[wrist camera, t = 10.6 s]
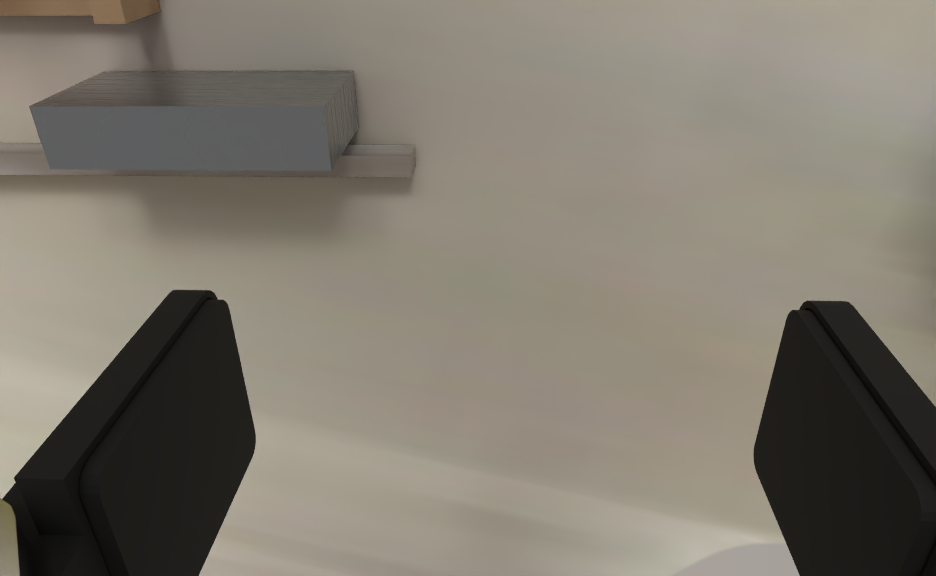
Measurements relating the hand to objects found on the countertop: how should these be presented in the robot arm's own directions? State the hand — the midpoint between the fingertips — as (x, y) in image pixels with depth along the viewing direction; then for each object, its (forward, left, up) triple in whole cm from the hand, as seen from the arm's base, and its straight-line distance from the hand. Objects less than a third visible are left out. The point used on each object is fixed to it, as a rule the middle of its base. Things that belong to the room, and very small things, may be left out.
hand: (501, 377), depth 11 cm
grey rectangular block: (0, -10, -16) cm, 19 cm away
